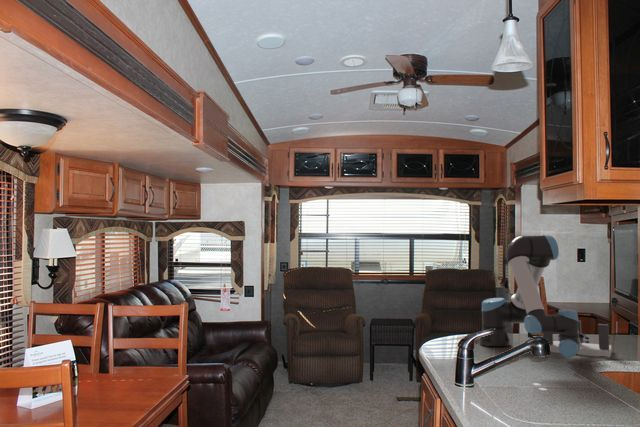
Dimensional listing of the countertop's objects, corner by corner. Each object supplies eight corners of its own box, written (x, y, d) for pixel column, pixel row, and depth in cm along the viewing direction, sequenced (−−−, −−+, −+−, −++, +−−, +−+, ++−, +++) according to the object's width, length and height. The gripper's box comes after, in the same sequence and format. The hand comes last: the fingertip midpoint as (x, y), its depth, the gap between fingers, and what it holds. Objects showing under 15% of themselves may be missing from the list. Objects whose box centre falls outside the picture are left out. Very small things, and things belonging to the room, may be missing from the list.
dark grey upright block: (581, 344, 259) (580, 321, 259) (572, 343, 261) (571, 320, 261) (581, 343, 261) (580, 320, 261) (572, 342, 263) (571, 320, 263)
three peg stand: (610, 357, 246) (609, 325, 247) (542, 351, 261) (541, 321, 261) (611, 351, 257) (610, 321, 258) (546, 346, 272) (545, 317, 272)
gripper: (556, 349, 242) (562, 339, 263) (588, 352, 236) (592, 341, 256) (555, 332, 243) (562, 323, 263) (587, 334, 236) (591, 325, 256)
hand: (577, 332), depth 260 cm, fingers closed
